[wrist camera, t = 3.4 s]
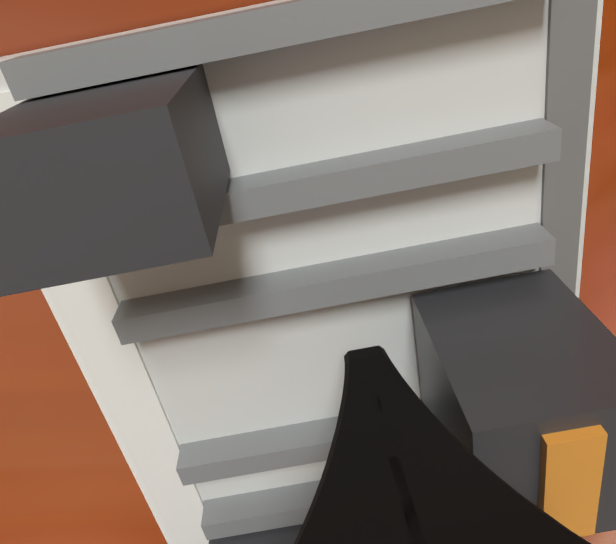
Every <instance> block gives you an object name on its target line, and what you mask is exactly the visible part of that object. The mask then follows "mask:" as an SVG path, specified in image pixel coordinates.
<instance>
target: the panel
mask: <svg viewBox="0 0 616 544" xmlns="http://www.w3.org/2000/svg"><path fill="white" fill-rule="evenodd" d="M602 11H603V0H276V1H271V2H266V3H261V4H256V5H251V6H247V7H242V8H237V9H232V10H227V11H222V12H217V13H212V14H208V15H203V16H198V17H193V18H188V19H183V20H178V21H173V22H169V23H164V24H159V25H154V26H149V27H144V28H139V29H134V30H130V31H125V32H120V33H115V34H110V35H105V36H100V37H95V38H91V39H86V40H81V41H76V42H71V43H66V44H61V45H57V46H52V47H47V48H42V49H37V50H32V51H27V52H22V53H18V54H13V55H8V56H3V57H0V297H1V296H7V295H12V294H17V293H22V292H28V291H33V290H38V289H41V290H42V292H43V294H44V296H45V298H46V300H47V302H48V304H49V306H50V308H51V310H52V312H53V314H54V316H55V318H56V320H57V322H58V324H59V327H60V329H61V331H62V333H63V335H64V337H65V339H66V341H67V343H68V345H69V347H70V349H71V351H72V353H73V355H74V357H75V359H76V361H77V363H78V365H79V367H80V369H81V371H82V373H83V375H84V377H85V379H86V381H87V383H88V385H89V387H90V389H91V391H92V393H93V395H94V397H95V399H96V401H97V403H98V405H99V407H100V409H101V411H102V413H103V415H104V417H105V419H106V421H107V423H108V425H109V427H110V429H111V431H112V433H113V435H114V437H115V439H116V441H117V443H118V445H119V447H120V449H121V451H122V453H123V455H124V457H125V459H126V461H127V463H128V465H129V467H130V469H131V471H132V473H133V475H134V477H135V479H136V481H137V483H138V485H139V487H140V489H141V491H142V493H143V495H144V497H145V499H146V501H147V503H148V505H149V507H150V509H151V511H152V513H153V515H154V517H155V519H156V521H157V523H158V525H159V527H160V529H161V531H162V533H163V535H164V537H165V539H166V541H167V543H168V544H294V542H295V540H296V538H297V536H298V534H299V531H300V529H301V527H302V525H303V522H304V520H305V518H306V515H307V513H308V511H309V508H310V506H311V503H312V501H313V498H314V496H315V493H316V490H317V488H318V485H319V482H320V479H321V476H322V473H323V470H324V467H325V464H326V461H327V458H328V454H329V451H330V447H331V443H332V440H333V436H334V433H335V429H336V425H337V420H338V415H339V410H340V405H341V399H342V393H343V385H344V374H345V362H344V355H345V354H346V353H347V352H348V351H351V350H356V349H362V348H367V347H373V346H378V345H379V346H381V347H382V348H384V349H385V351H386V353H387V355H388V356H389V358H390V360H391V361H392V363H393V364H394V366H395V367H396V369H397V370H398V372H399V373H400V374H401V376H402V377H403V378H404V380H405V381H406V382H407V384H408V385H409V386H410V387H411V389H412V390H413V391H414V392H415V394H416V395H417V396H418V397H419V398H420V399H421V401H422V402H423V400H422V396H421V386H420V376H419V366H418V356H417V346H416V336H415V326H414V316H413V306H412V296H411V294H417V293H422V292H428V291H433V290H438V289H444V288H449V287H455V286H460V285H465V284H471V283H476V282H482V281H487V280H492V279H498V278H503V277H509V276H514V275H519V274H525V273H530V272H536V271H541V270H546V269H551V270H552V271H553V272H554V273H555V274H556V275H557V276H558V277H559V278H560V280H561V281H562V282H563V283H564V284H565V285H566V286H567V287H568V288H569V289H570V290H571V291H572V292H573V293H574V294H575V295H576V296H577V297H578V298H579V291H580V279H581V267H582V255H583V243H584V231H585V218H586V206H587V194H588V182H589V170H590V157H591V145H592V133H593V121H594V109H595V96H596V84H597V72H598V60H599V48H600V35H601V23H602Z"/></svg>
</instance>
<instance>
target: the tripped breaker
mask: <svg viewBox="0 0 616 544" xmlns="http://www.w3.org/2000/svg"><path fill="white" fill-rule="evenodd" d="M411 296H412V306H413V316H414V326H415V336H416V346H417V356H418V366H419V376H420V386H421V396H422V400H423V403H424V404H425V405H426V406H427V408H428V409H429V410H430V411H431V412H432V413H433V414H434V415H435V417H436V418H437V419H438V420H439V421H440V422H441V423H442V424H443V425H444V426H445V427H446V428H447V429H448V430H449V431H450V432H451V433H452V434H453V435H454V436H455V437H456V438H457V439H458V440H459V441H460V442H461V443H462V444H463V445H464V446H465V447H466V448H467V449H468V450H469V451H470V452H471V453H472V454H473V455H475V456H476V457H477V458H478V459H479V460H480V461H481V462H482V463H484V464H485V465H486V466H487V467H488V468H489V469H490V470H492V471H493V472H494V473H495V474H496V475H497V476H499V477H500V478H501V479H502V480H504V481H505V482H506V483H507V484H508V485H510V486H511V487H512V488H513V489H515V490H516V491H517V492H518V493H520V494H521V495H522V496H524V497H525V498H526V499H528V500H529V501H530V502H532V503H533V504H535V505H536V506H537V507H539V508H540V509H542V510H543V511H544V512H546V513H547V514H548V515H550V516H551V517H553V518H554V519H555V520H557V521H558V522H559V523H561V524H562V525H564V526H565V527H566V528H568V529H569V530H571V531H572V532H574V533H575V534H577V535H578V536H580V537H582V536H588V535H594V534H595V533H600V532H606V531H612V530H616V337H615V336H614V335H613V334H612V333H611V332H610V331H609V330H608V329H607V328H606V327H605V326H604V325H603V323H602V322H601V321H600V320H599V319H598V318H597V317H596V316H595V315H594V314H593V313H592V312H591V311H590V310H589V309H588V308H587V307H586V306H585V305H584V304H583V303H582V301H581V300H580V299H579V298H578V297H577V296H576V295H575V294H574V293H573V292H572V291H571V290H570V289H569V288H568V287H567V286H566V285H565V284H564V283H563V282H562V281H561V280H560V278H559V277H558V276H557V275H556V274H555V273H554V272H553V271H552V270H551V269H546V270H541V271H536V272H530V273H525V274H519V275H514V276H509V277H503V278H498V279H492V280H487V281H482V282H476V283H471V284H465V285H460V286H455V287H449V288H444V289H438V290H433V291H428V292H422V293H417V294H411Z"/></svg>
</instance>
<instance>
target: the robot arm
mask: <svg viewBox="0 0 616 544" xmlns="http://www.w3.org/2000/svg"><path fill="white" fill-rule="evenodd" d="M344 362H345V374H344V385H343V393H342V399H341V405H340V410H339V415H338V420H337V425H336V429H335V433H334V436H333V440H332V443H331V447H330V451H329V454H328V458H327V461H326V464H325V467H324V470H323V473H322V476H321V479H320V482H319V485H318V488H317V490H316V493H315V496H314V498H313V501H312V503H311V506H310V508H309V511H308V513H307V515H306V518H305V520H304V522H303V525H302V527H301V529H300V531H299V534H298V536H297V538H296V540H295V542H294V544H591V543H589V542H588V541H586V540H584V539H583V538H581V537H580V536H578V535H577V534H575V533H574V532H572V531H571V530H569V529H568V528H566V527H565V526H564V525H562V524H561V523H559V522H558V521H557V520H555V519H554V518H553V517H551V516H550V515H548V514H547V513H546V512H544V511H543V510H542V509H540V508H539V507H537V506H536V505H535V504H533V503H532V502H530V501H529V500H528V499H526V498H525V497H524V496H522V495H521V494H520V493H518V492H517V491H516V490H515V489H513V488H512V487H511V486H510V485H508V484H507V483H506V482H505V481H504V480H502V479H501V478H500V477H499V476H497V475H496V474H495V473H494V472H493V471H492V470H490V469H489V468H488V467H487V466H486V465H485V464H484V463H482V462H481V461H480V460H479V459H478V458H477V457H476V456H475V455H473V454H472V453H471V452H470V451H469V450H468V449H467V448H466V447H465V446H464V445H463V444H462V443H461V442H460V441H459V440H458V439H457V438H456V437H455V436H454V435H453V434H452V433H451V432H450V431H449V430H448V429H447V428H446V427H445V426H444V425H443V424H442V423H441V422H440V421H439V420H438V419H437V418H436V417H435V415H434V414H433V413H432V412H431V411H430V410H429V409H428V408H427V406H426V405H425V404H424V403H423V402H422V401H421V399H420V398H419V397H418V396H417V395H416V394H415V392H414V391H413V390H412V389H411V387H410V386H409V385H408V384H407V382H406V381H405V380H404V378H403V377H402V376H401V374H400V373H399V372H398V370H397V369H396V367H395V366H394V364H393V363H392V361H391V360H390V358H389V356H388V355H387V353H386V351H385V349H384V348H382V347H381V346H379V345H378V346H373V347H367V348H362V349H356V350H351V351H348V352H347V353H346V354H345V355H344Z"/></svg>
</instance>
